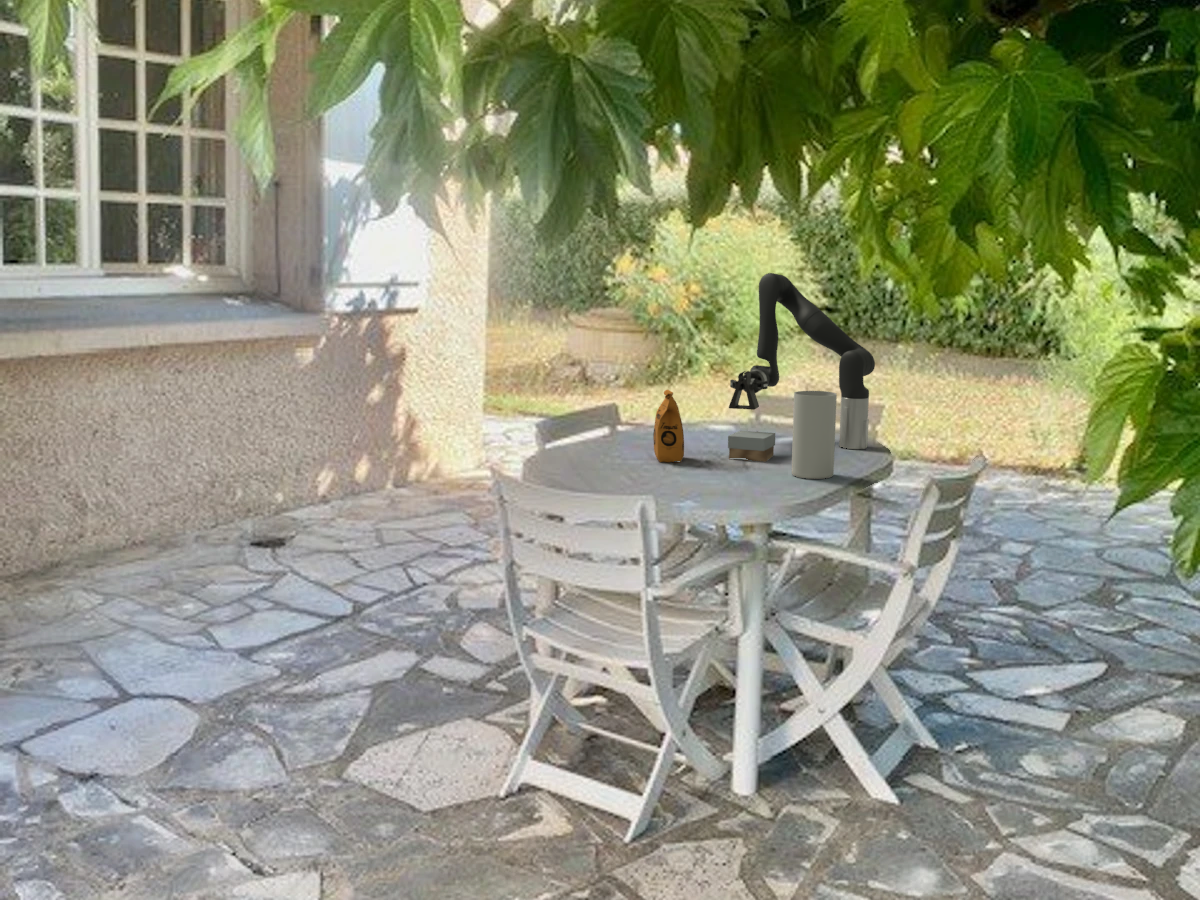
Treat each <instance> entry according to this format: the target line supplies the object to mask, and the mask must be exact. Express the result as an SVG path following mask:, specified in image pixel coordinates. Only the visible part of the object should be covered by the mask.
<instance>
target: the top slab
mask: <svg viewBox="0 0 1200 900" xmlns="http://www.w3.org/2000/svg"><path fill="white" fill-rule="evenodd" d="M773 446H774V447H775V446H776V432H764V431H753V430H752V431H751V430H749V431H748V430H739V431H737V432H733V433H732V434H730V435H728V437H727V448H728V449H729V448H732V449H745V450H757V451H765V450H767V449H769V448H771V447H773Z"/></svg>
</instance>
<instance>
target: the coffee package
mask: <svg viewBox="0 0 1200 900" xmlns="http://www.w3.org/2000/svg"><path fill="white" fill-rule="evenodd" d="M663 394H664V396H665V398H664V399H663V401H662V402H661V403H660V405H659V406H658V409H657V410H656V414H655V419H654V427H653V434H652V435H653V452H654V455H655V458H656V459H657V460H658V461H659V463H675V462H674V461H681V460H683V458H684V456H685V437H684V428H683V427H684V426H683V422H682V417H681V415H680V413H681V412H680V410H679V406H678V403H677V401H676V400H675V398H674V397H673V395H674V392H673V391H671V390H669V389H666V390H664V392H663ZM681 462H682V461H681Z"/></svg>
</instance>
